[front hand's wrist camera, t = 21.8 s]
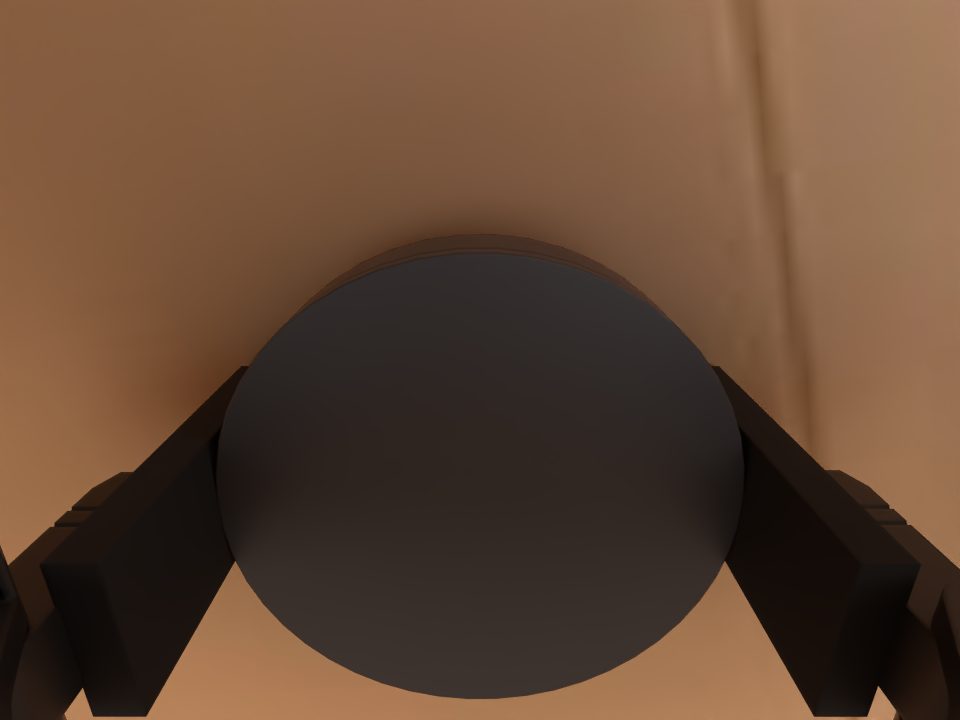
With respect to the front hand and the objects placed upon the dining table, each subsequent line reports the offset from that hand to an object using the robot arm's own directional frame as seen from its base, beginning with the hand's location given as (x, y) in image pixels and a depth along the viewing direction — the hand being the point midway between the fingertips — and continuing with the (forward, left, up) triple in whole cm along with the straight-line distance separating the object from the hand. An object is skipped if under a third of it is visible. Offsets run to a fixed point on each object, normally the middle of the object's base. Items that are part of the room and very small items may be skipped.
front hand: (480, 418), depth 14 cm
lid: (0, 0, +3) cm, 3 cm away
